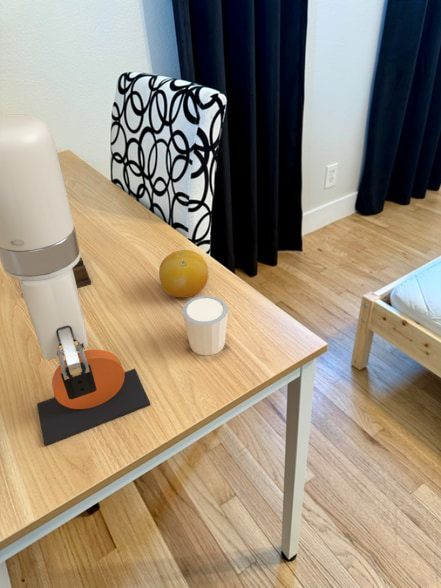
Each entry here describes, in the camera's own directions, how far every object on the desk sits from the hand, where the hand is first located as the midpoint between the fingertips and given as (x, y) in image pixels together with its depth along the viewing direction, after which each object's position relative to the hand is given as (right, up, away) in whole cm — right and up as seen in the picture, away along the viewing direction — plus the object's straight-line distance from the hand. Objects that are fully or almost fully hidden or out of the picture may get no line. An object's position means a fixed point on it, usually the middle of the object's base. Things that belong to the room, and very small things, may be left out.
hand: (74, 366), depth 54 cm
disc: (+1, -6, +5) cm, 8 cm away
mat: (+1, -6, +6) cm, 9 cm away
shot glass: (+16, +1, +15) cm, 22 cm away
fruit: (+12, +9, +25) cm, 30 cm away
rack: (-13, +12, +30) cm, 35 cm away
